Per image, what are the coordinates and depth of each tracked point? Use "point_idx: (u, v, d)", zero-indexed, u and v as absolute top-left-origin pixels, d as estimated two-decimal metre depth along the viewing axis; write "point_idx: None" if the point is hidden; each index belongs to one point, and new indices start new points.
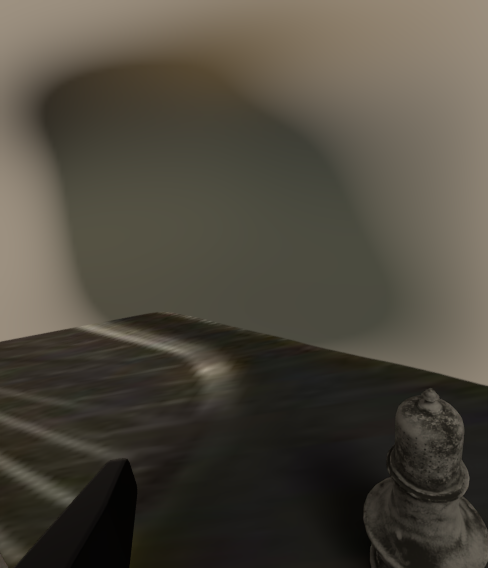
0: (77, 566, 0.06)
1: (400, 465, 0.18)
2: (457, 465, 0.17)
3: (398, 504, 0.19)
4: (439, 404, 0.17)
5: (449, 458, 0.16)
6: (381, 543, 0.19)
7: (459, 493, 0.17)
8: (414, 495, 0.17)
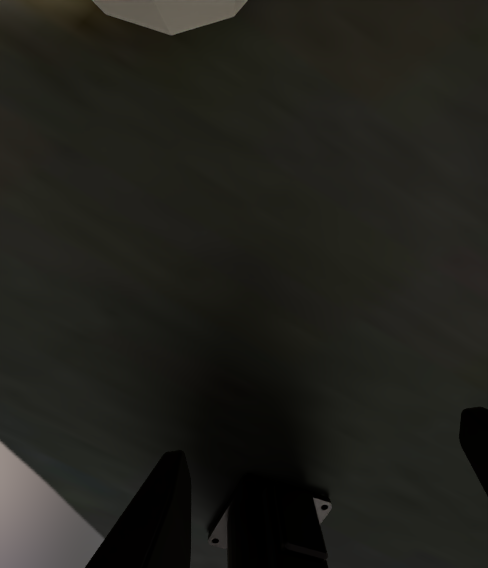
0: (155, 554, 0.06)
1: None
2: None
3: None
4: None
5: None
6: None
7: None
8: None
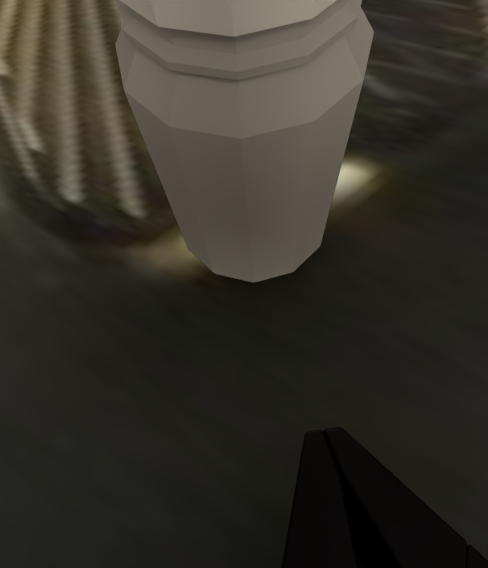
0: None
1: None
2: None
3: None
4: None
5: None
6: None
7: None
8: None
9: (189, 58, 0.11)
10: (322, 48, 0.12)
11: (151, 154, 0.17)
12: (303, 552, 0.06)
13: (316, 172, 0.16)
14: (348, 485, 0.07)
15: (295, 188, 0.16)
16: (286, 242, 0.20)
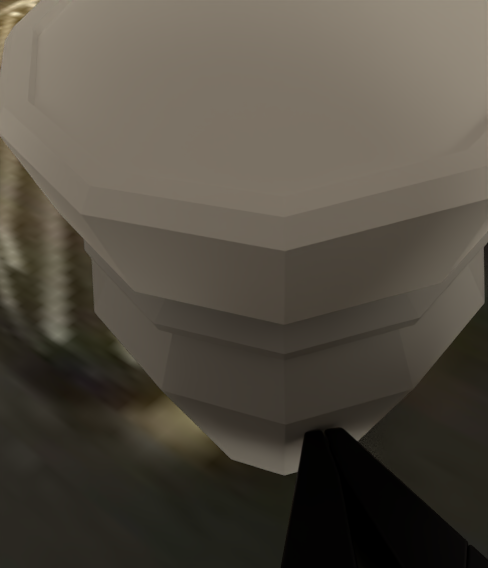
0: None
1: None
2: None
3: None
4: None
5: None
6: None
7: None
8: None
9: (195, 321, 0.06)
10: (439, 296, 0.06)
11: None
12: (302, 552, 0.06)
13: None
14: (349, 485, 0.07)
15: (360, 428, 0.10)
16: None
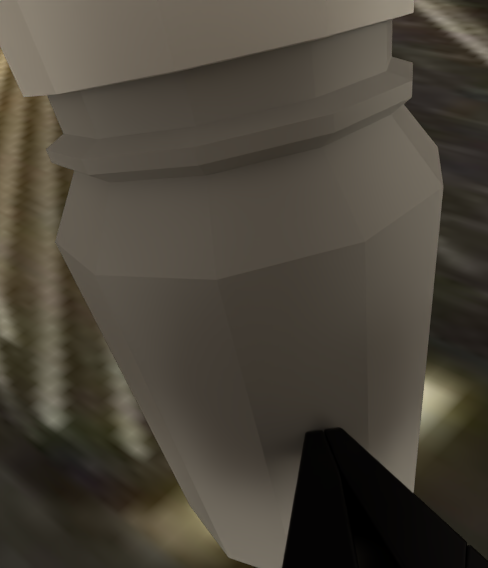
0: None
1: None
2: None
3: None
4: None
5: None
6: None
7: None
8: None
9: (117, 147, 0.06)
10: (358, 112, 0.06)
11: (109, 345, 0.11)
12: (303, 552, 0.06)
13: (385, 358, 0.08)
14: (348, 485, 0.07)
15: (348, 388, 0.08)
16: None
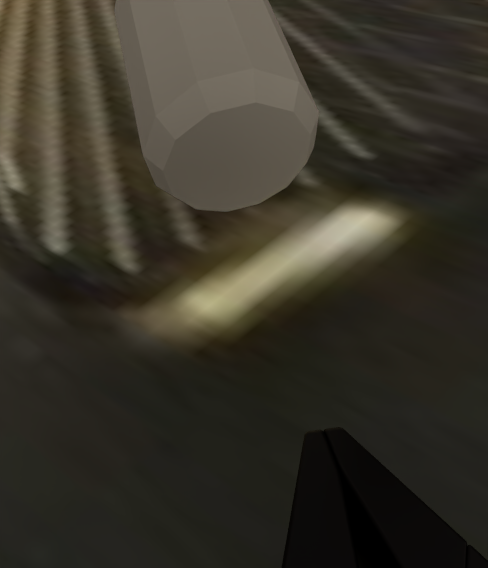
0: None
1: None
2: None
3: None
4: None
5: None
6: None
7: None
8: None
9: None
10: None
11: (121, 40, 0.23)
12: (303, 552, 0.06)
13: None
14: (348, 485, 0.07)
15: None
16: (218, 13, 0.18)
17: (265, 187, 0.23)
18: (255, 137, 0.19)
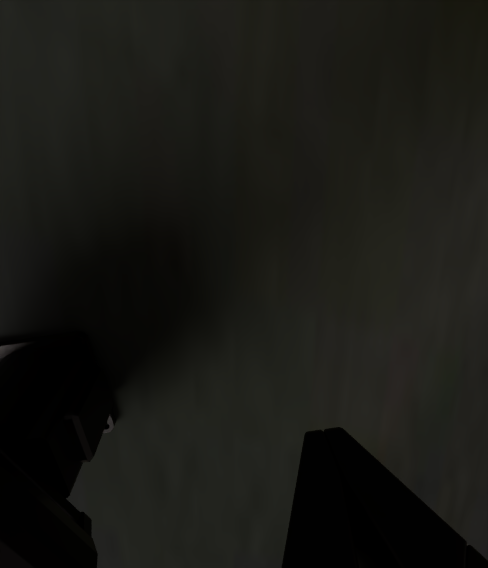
0: None
1: None
2: None
3: None
4: None
5: None
6: None
7: None
8: None
9: None
10: None
11: None
12: (303, 552, 0.06)
13: None
14: (348, 485, 0.07)
15: None
16: None
17: None
18: None
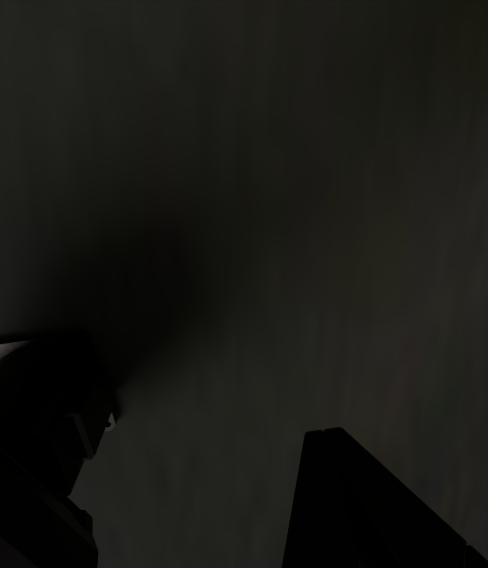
0: None
1: None
2: None
3: None
4: None
5: None
6: None
7: None
8: None
9: None
10: None
11: None
12: (303, 552, 0.06)
13: None
14: (348, 485, 0.07)
15: None
16: None
17: None
18: None
